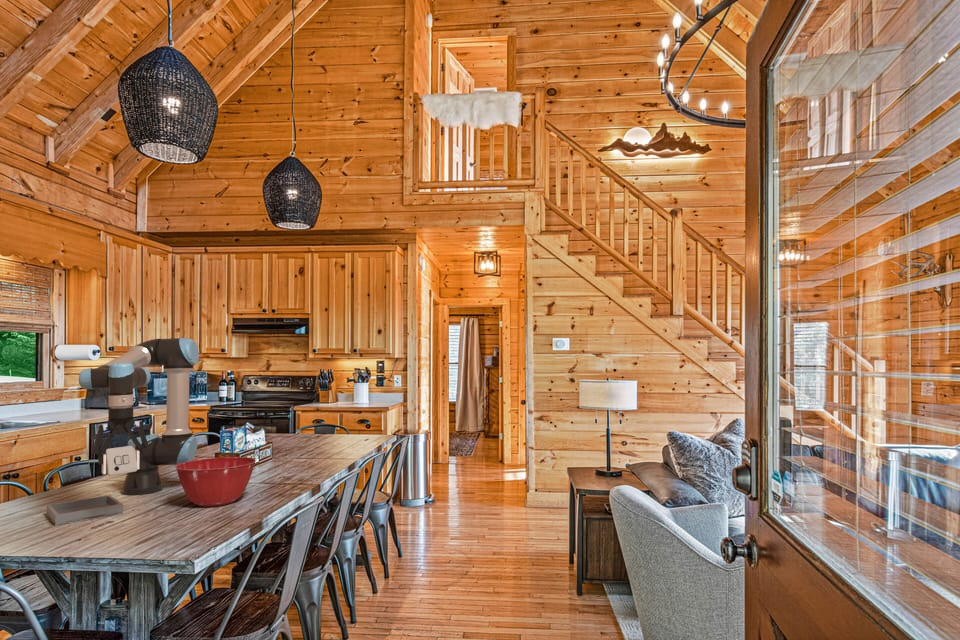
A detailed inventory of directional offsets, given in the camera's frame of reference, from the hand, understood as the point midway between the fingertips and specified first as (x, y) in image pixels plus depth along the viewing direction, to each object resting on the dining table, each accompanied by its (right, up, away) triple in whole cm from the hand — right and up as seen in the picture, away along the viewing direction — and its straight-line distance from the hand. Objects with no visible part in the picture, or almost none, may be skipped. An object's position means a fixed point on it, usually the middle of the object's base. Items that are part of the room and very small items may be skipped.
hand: (120, 471), depth 206 cm
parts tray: (-18, -18, +8) cm, 27 cm away
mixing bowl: (+24, -18, +22) cm, 37 cm away
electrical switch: (0, -1, 0) cm, 1 cm away
